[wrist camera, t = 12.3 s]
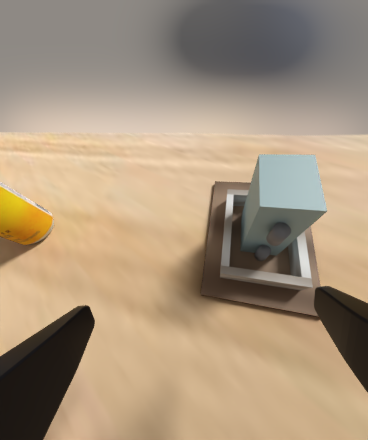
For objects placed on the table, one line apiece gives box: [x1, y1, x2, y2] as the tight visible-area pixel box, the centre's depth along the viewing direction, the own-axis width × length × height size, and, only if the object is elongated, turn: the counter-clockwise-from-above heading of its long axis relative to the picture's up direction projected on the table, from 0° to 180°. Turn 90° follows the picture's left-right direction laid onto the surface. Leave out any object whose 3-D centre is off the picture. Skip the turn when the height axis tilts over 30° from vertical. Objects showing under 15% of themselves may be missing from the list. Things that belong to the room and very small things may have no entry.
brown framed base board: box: [201, 181, 321, 317], centre depth 20 cm, size 16×12×3 cm
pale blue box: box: [240, 155, 327, 261], centre depth 16 cm, size 6×4×10 cm, turn 169°
